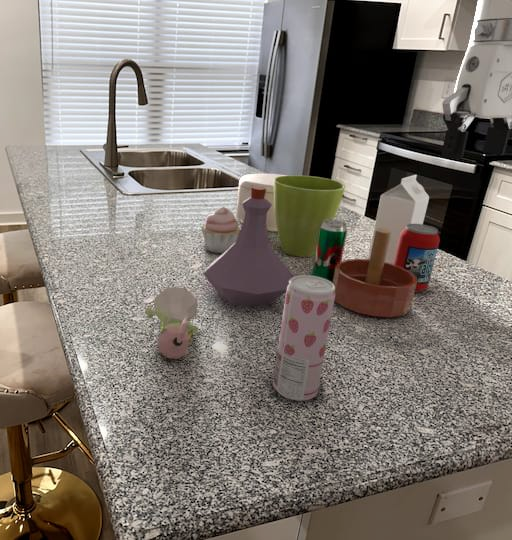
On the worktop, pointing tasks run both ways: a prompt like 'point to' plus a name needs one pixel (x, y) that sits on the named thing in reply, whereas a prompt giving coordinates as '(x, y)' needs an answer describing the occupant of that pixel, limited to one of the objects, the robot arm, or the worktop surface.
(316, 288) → the beverage can
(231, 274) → the flask
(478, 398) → the worktop surface
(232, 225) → the cupcake
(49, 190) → the worktop surface
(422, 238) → the beverage can
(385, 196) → the milk carton
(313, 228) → the flower pot
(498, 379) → the worktop surface
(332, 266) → the soda can
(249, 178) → the container
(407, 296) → the bowl
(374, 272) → the stick
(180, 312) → the figurine
